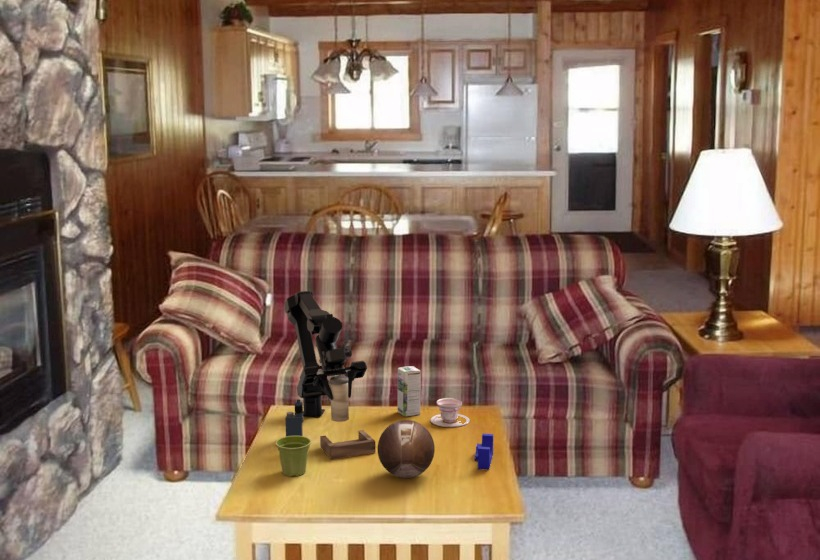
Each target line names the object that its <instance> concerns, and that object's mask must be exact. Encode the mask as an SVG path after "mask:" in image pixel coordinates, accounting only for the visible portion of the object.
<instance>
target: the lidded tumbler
mask: <svg viewBox="0 0 820 560" xmlns="http://www.w3.org/2000/svg"><path fill="white" fill-rule="evenodd" d="M329 385H330V389H331V392H332V395H333V400H331V399H330V413H331V414H330V417H331V418H330V419H331V421H332V422H337V423H342V422H346V421H349V419H350V414H349V410H350V409H349V407H350V406H349V397H348V377H345V375H334V376H330V378H329Z"/></svg>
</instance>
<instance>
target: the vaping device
mask: <svg viewBox="0 0 820 560" xmlns="http://www.w3.org/2000/svg"><path fill="white" fill-rule="evenodd" d="M303 411H304V409H303V401H301V399H299V398H298V399H296V401H295V402H294V412H293V411H287V412H286V415H285V419H284V421H285V437H287V436H304V434H303V431H304V430H303V423H304V416H303Z"/></svg>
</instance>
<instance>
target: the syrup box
mask: <svg viewBox="0 0 820 560" xmlns="http://www.w3.org/2000/svg"><path fill="white" fill-rule="evenodd" d="M421 374H422V373H421V370H420V369H418V368H416V367H415V366H413V365H412V366H410V365H409V366H401V367H398V368H397V413H399V414H400V415H402V416H403V417H410V416H413V417H414V416H417V415H421V404H422V403H421V398H422V397H421V395H422V393H421V392H422V390H421V384H422V383H421V382H422V379H421V376H422V375H421Z"/></svg>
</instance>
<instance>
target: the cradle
mask: <svg viewBox="0 0 820 560" xmlns="http://www.w3.org/2000/svg"><path fill="white" fill-rule="evenodd" d="M357 433H358V438H357V439H351V440H344V441H337V442H332V441H331V440H330V439H329V438H328V437H327V436H326V435H320V436H319V438H320V439H319V440H320V442H319V443H320V447H321V448H322V449H323V450H322V449H321V448H320V449H321V450H322V451H323V453H325V455H326V456H328V458H330V459H331V460H336V458H337V459H343V457H344V458H349V456H350V457H357V456H362V455H368V454H375V453H377V452H376V448H377V447H376V440H375V439H374V438H373V437H372V436H370V434H369V433H368V432H366V431H365V430H364V429H361V430H358V432H357Z"/></svg>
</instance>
